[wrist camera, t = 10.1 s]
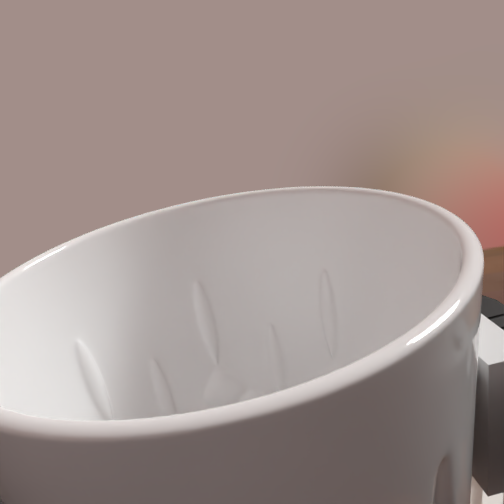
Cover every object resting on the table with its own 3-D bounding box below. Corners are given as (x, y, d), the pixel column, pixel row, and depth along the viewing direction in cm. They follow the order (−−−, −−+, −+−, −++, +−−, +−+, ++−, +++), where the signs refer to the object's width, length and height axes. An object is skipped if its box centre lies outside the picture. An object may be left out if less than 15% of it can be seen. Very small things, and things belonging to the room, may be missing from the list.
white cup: (57, 881, 8) (-252, 440, 5) (186, 499, 16) (98, 210, 12) (551, 985, 7) (629, 424, 3) (440, 503, 14) (426, 167, 10)
